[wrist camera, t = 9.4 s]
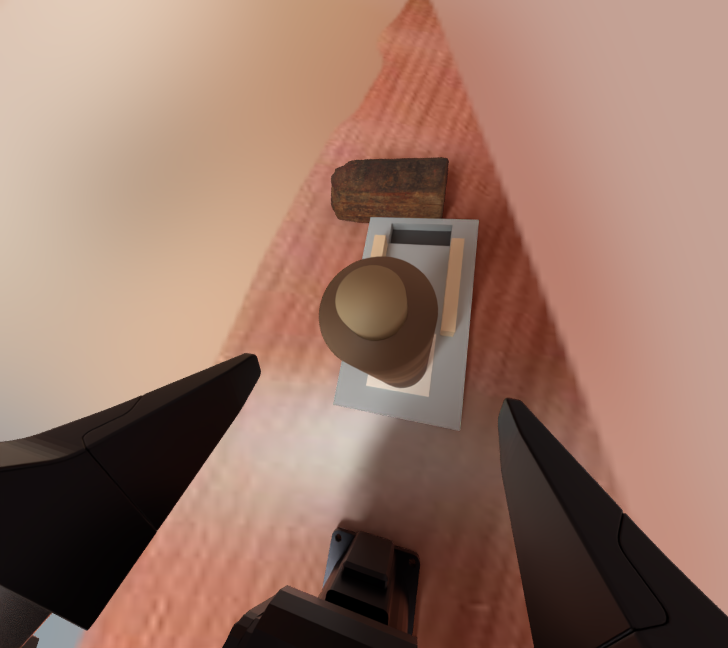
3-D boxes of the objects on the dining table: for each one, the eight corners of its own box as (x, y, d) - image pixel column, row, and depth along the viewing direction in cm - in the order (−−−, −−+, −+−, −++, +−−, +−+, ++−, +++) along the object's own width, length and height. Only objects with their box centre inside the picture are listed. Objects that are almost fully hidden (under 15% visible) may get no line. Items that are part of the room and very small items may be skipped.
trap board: (457, 429, 21) (463, 433, 18) (337, 404, 23) (326, 405, 20) (476, 227, 25) (482, 207, 22) (372, 224, 27) (367, 206, 25)
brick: (445, 194, 27) (450, 153, 22) (440, 228, 26) (444, 193, 21) (346, 193, 29) (333, 156, 25) (338, 224, 28) (323, 191, 24)
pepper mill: (423, 392, 20) (432, 377, 7) (371, 383, 21) (291, 354, 8) (430, 339, 22) (448, 240, 8) (379, 333, 22) (320, 234, 9)
